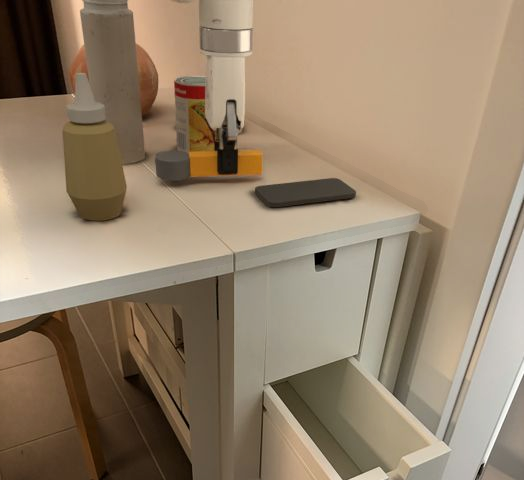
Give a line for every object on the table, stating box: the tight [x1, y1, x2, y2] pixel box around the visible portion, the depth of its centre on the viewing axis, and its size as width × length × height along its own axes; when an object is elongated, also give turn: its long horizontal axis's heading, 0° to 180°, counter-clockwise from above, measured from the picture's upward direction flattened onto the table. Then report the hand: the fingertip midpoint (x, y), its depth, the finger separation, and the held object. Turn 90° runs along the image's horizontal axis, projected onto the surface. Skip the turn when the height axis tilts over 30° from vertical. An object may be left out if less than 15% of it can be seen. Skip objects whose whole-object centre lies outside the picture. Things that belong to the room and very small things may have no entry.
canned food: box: [173, 74, 219, 153], centre depth 100 cm, size 8×8×12 cm
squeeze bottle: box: [62, 73, 128, 221], centre depth 73 cm, size 8×8×18 cm
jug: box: [68, 42, 159, 120], centre depth 115 cm, size 18×18×20 cm
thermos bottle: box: [79, 0, 146, 165], centre depth 90 cm, size 8×8×28 cm
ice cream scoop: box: [154, 149, 264, 182], centre depth 88 cm, size 17×6×3 cm, turn 102°
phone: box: [254, 177, 357, 208], centre depth 87 cm, size 7×1×15 cm
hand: (226, 169), depth 90 cm, fingers closed on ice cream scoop, 2 cm apart
